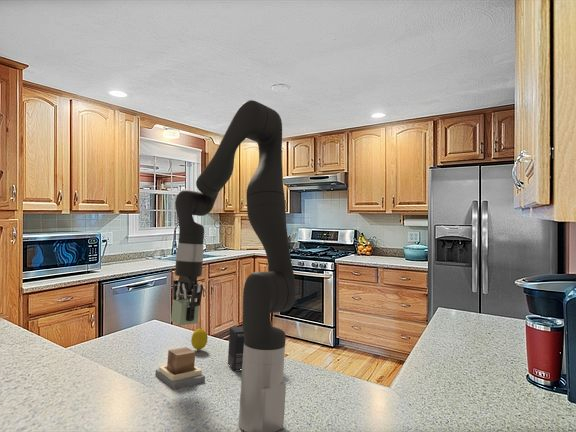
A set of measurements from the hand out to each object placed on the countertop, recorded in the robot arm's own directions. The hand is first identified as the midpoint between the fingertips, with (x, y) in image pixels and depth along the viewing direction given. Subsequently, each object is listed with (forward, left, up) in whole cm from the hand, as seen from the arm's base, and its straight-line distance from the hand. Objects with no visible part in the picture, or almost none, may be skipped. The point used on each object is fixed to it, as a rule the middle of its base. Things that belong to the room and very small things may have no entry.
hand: (184, 318), depth 101 cm
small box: (-3, -22, -17) cm, 28 cm away
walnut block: (0, 0, -15) cm, 15 cm away
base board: (0, 0, -17) cm, 17 cm away
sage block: (0, 0, -1) cm, 1 cm away
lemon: (+19, -16, -17) cm, 30 cm away
